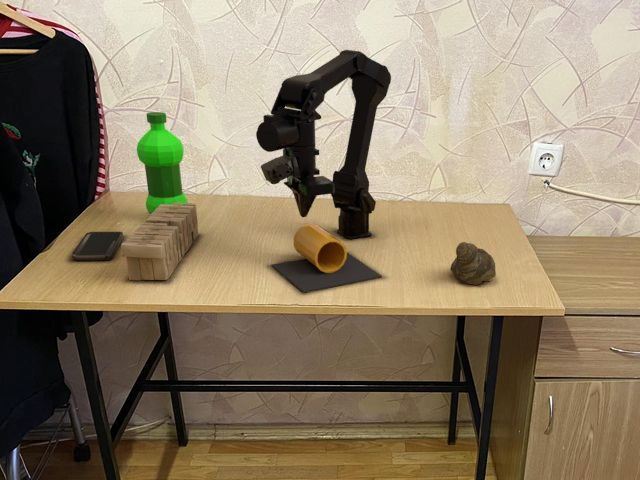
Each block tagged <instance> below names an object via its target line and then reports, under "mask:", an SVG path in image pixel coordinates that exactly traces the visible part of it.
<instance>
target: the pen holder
mask: <svg viewBox="0 0 640 480" xmlns="http://www.w3.org/2000/svg"><path fill="white" fill-rule="evenodd" d="M292 243H293V244H292V245H293V248H294V250H295V252H296V253H297V254H299V256H301V257H302V258H303V259H306V260H307V261H309V262H310V263H311V264H313V265H314V266H315V267H316V268H318V269H319V270H320V271H322V272H325V273H333V272H335V271H337V270H339V269H340V268H341V267H342V266H343V265H344V263H345V260H346V257H347V253H348V252H347V248H346V246H345V243H344V242H342V241H341V240H340V239H338V238H336V237H335V236H334V235H332V234H330V233H329V232H328V231H327V230H325V229H323V228H322V227H320V226H319V225H316V224H313V223H307V224H303V225H302V226H301V227H299V228H298V229H297V230H296V231H295V233H294V236H293V242H292Z"/></svg>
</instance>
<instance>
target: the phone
mask: <svg viewBox="0 0 640 480" xmlns="http://www.w3.org/2000/svg"><path fill="white" fill-rule="evenodd" d="M124 239H125V235H124V232H123V231H88V232H86V233H85V234H84V236H83V237H82V239H81V240H80V241H79V242H78V244H77V246H76V247H75V248H74V250H73V251H72V253H71V257H72V260H73V261H81V262H83V261H110V260H112V259H113V258H114V256H115V254H116V252H117V251H118V249H119V247H120V246H121V244H122V243H123V240H124Z"/></svg>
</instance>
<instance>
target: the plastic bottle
mask: <svg viewBox="0 0 640 480" xmlns="http://www.w3.org/2000/svg"><path fill="white" fill-rule="evenodd" d="M146 121H147V123H148V124H149V126H150V129H149V130H148V131H147V132H146V133H144V134H143V136H142V137H141V138H140V139H139V140H138V142H137V145H136V155H137V157H138V159H139V161H140V163H142V164H143V165H144V171H145V177H146V184H147V193H148V194H147V197H146V201H145V209H146V210H147V212H148V214H150V215H151V214H152V213H153V212H154V211H155V209H156V208H158V207H159V205H160V204H165V205H172V204H173V203H184V204H185V203H189V201H188V198H187V196H186V194H185V192H184V191H183V184H182V183H183V182H182V176H181V175H182V174H181V162H182V161H183V159H184V153H185V152H184V151H185V150H184V144H183V142H182V140H181V139H180V138H178V137H177V136H176V135H175V134H173V133H172V132H171V131H169V130H168V129H167V128H166V123H167V122H168V119H167V114H166V112H162V111H161V112H160V111H150V112H147V113H146Z"/></svg>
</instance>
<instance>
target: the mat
mask: <svg viewBox="0 0 640 480" xmlns="http://www.w3.org/2000/svg"><path fill="white" fill-rule="evenodd" d="M271 267H272V268H273V269H274V270H275V271H276V272H277V273H279V274H280V275H281V276H282V277H283V278H285V279H286V280H287V281H289V282H290V283H291V284H292V285H293V286H294V287H296V288H297V289H298V290H299V291H300V292H301V293H303V294H307V293H311V292H315V291H316V292H317V291H321V290H322V291H323V290H327V289H331V288H332V289H333V288H337V287H342V286H346V285H352V284H356V283H361V282H367V281H371V280H376V279H382V278H383V275H381V274H380V273H378V272H377V271H376V270H374V269H372V268H371V267H369V266H368V265H366V264H365V263H363V262H362V261H360V260H359V259H357V258H356V257H355V256H353V255H352V254H350V253H349V252H347V257H346V260H345V263H344V265H343V266H342V267H341V268H340V269H339V270H337V271H335V272H333V273H325V272H322V271H320V270H319V269H318V268H316V267H315V266H314V265H313V264H311V263H310V262H309V261H307V260H306V259H305V258H301V259H295V260H289V261H283V262H277V263H272V264H271Z"/></svg>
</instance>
